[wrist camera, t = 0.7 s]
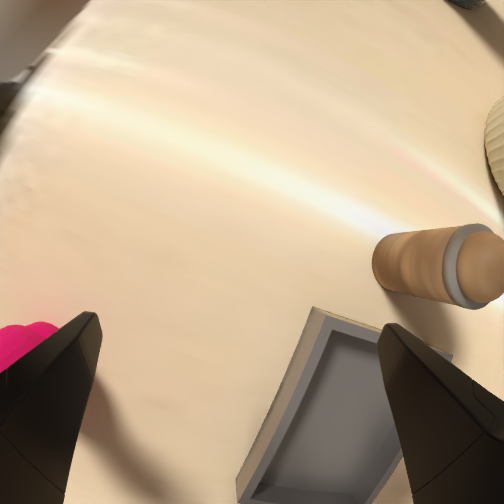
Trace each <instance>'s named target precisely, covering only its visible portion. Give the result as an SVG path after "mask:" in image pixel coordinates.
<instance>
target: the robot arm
mask: <svg viewBox="0 0 504 504" xmlns="http://www.w3.org/2000/svg"><path fill="white" fill-rule="evenodd" d="M101 343H102V330H101V326H100V322H99V318H98V315H97V314H96V313H95V312H87V311H85V312H82V313H81V314H80V315H78V316H77V317H75V318H74V319H73V320H71V321H70V322H68V323H67V324H66V325H64V326H63V327H61V328H60V329H59V330H57V331H56V332H54V333H53V334H52V335H50V336H49V337H48V338H46V339H45V340H43V341H42V342H41V343H39V344H38V345H37V346H35V347H34V348H33V349H31V350H30V351H29V352H27V353H26V354H25V355H23V356H22V357H21V358H19V359H18V360H17V361H15V362H14V363H13V364H11V365H10V366H9V367H8V369H5V370H3V371H2V372H1V373H0V504H63V502H64V497H65V491H66V486H67V481H68V476H69V471H70V467H71V462H72V458H73V454H74V450H75V446H76V442H77V438H78V434H79V430H80V426H81V423H82V419H83V415H84V412H85V408H86V405H87V401H88V398H89V395H90V391H91V388H92V385H93V381H94V377H95V372H96V367H97V362H98V357H99V352H100V347H101ZM377 352H378V357H379V362H380V367H381V372H382V378H383V383H384V388H385V391H386V395H387V398H388V402H389V405H390V408H391V412H392V416H393V419H394V423H395V426H396V430H397V434H398V438H399V441H400V445H401V449H402V453H403V457H404V461H405V465H406V470H407V474H408V478H409V483H410V487H411V492H412V494H413V495H412V497H413V502H414V504H504V401H502V400H501V399H499V398H498V397H496V396H495V395H493V394H492V393H490V392H489V391H488V390H486V389H485V388H484V387H482V386H481V385H480V384H478V383H477V382H476V381H474V380H472V379H471V378H470V377H469V376H468V375H466V374H465V373H464V372H463V371H461V370H460V369H459V368H457V367H456V366H455V365H453V364H452V363H451V362H449V361H448V360H447V359H445V358H444V357H443V356H441V355H440V354H438V353H437V352H436V351H434V350H433V349H432V348H430V347H429V346H428V345H426V344H425V343H424V342H422V341H421V340H420V339H418V338H417V337H415V336H414V335H413V334H411V333H410V332H409V331H407V330H406V329H405V328H403V327H402V326H400V325H399V324H397V323H387V324H385V325H384V327H383V330H382V332H381V334H380V337H379V339H378V341H377Z"/></svg>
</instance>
